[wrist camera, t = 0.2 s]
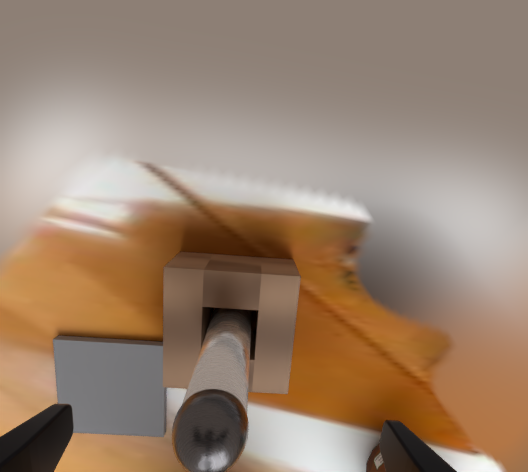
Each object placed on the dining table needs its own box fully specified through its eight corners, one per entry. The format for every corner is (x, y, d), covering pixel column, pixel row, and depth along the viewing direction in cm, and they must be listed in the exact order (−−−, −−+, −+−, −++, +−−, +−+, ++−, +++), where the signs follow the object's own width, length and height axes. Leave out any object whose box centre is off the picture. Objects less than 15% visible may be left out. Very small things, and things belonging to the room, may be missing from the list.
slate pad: (165, 431, 26) (163, 436, 25) (64, 426, 25) (60, 431, 25) (166, 341, 24) (164, 346, 23) (58, 335, 24) (52, 339, 23)
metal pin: (251, 326, 24) (244, 501, 11) (213, 324, 24) (160, 498, 11) (254, 290, 23) (249, 432, 10) (215, 288, 23) (161, 427, 10)
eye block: (283, 359, 24) (287, 394, 20) (178, 353, 24) (162, 387, 20) (293, 259, 23) (300, 276, 19) (180, 251, 22) (163, 267, 18)
